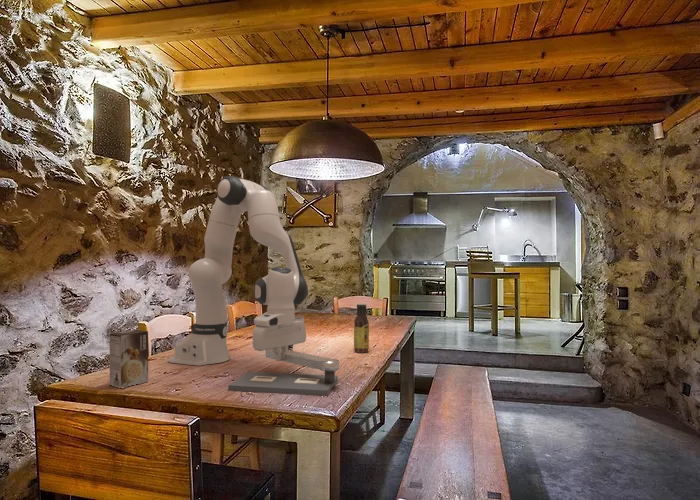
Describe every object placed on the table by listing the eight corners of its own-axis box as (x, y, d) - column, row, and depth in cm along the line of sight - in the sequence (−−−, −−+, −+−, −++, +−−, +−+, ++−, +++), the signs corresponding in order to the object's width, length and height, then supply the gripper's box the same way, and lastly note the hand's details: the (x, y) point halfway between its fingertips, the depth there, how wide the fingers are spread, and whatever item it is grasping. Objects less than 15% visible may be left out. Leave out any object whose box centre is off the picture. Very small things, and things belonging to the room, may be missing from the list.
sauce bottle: (367, 353, 181) (367, 305, 181) (352, 353, 182) (352, 304, 182) (369, 350, 187) (370, 303, 188) (355, 349, 188) (355, 303, 189)
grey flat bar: (264, 357, 149) (264, 350, 149) (277, 354, 153) (277, 347, 153) (330, 372, 130) (330, 363, 130) (342, 368, 134) (342, 360, 134)
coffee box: (136, 379, 142) (137, 329, 142) (148, 382, 138) (149, 331, 139) (108, 386, 134) (109, 333, 134) (120, 389, 131) (121, 335, 131)
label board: (228, 390, 130) (228, 373, 130) (248, 376, 146) (248, 360, 146) (329, 395, 126) (329, 378, 126) (339, 380, 141) (339, 364, 141)
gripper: (297, 313, 152) (297, 353, 152) (249, 319, 137) (249, 364, 136) (310, 315, 148) (310, 356, 148) (262, 321, 133) (262, 367, 132)
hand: (280, 360), depth 142 cm, fingers closed
